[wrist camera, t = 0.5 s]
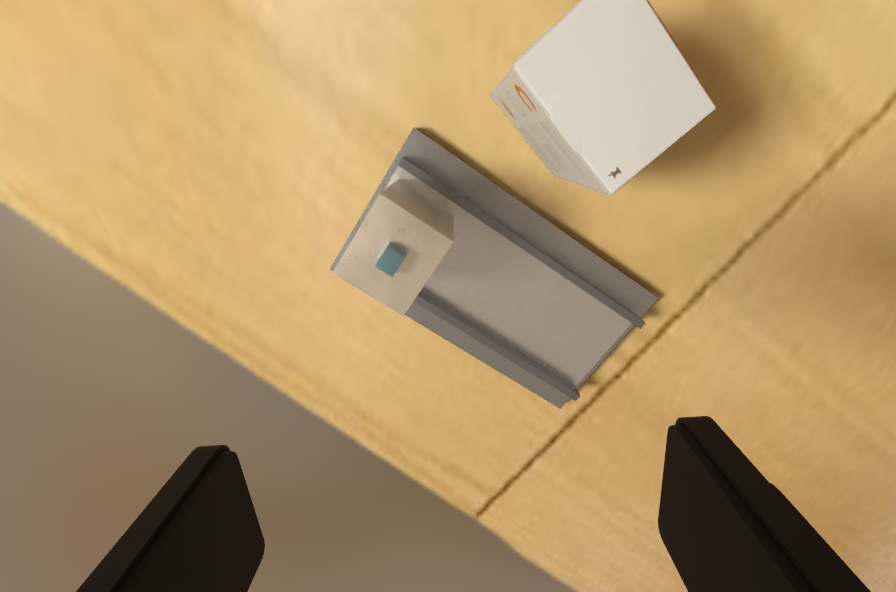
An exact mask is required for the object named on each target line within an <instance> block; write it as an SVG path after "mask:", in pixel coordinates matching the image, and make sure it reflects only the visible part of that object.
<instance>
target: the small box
mask: <svg viewBox="0 0 896 592" xmlns="http://www.w3.org/2000/svg"><path fill="white" fill-rule="evenodd" d="M491 97H492V99H493V100H494V101H495V103H496V104H497V105H498V107H499V108H500V109H501V110H502V112H503V113H504V114H505V115H506V117H507V118H508V119H509V121H510V122H511V123H512V124H513V126H514V127H515V128H516V129H517V131H518V132H519V133H520V134H521V136H522V137H523V138H524V139H525V141H526V142H527V143H528V144H529V146H530V147H531V148H532V149H533V151H534V152H535V153H536V154H537V156H538V157H539V158H540V159H541V161H542V162H543V163H544V164H545V166H546V167H547V168H548V169H549V170H550V172H551V173H552V174H553V175H554V176H555V177H559V178H561V179H565V180H568V181H571V182H573V183H576V184H579V185H581V186H584V187H587V188H590V189H593V190H596V191H598V192H601V193H604V194H607V195H610V196H611V195H613V194H614V193H615V192H616V191H617V190H618V189H620V188H621V187H622V186H623V185H624V184H625V183H627V182H628V181H629V180H630V179H631V178H632V177H634V176H635V175H636V174H637V173H638V172H640V171H641V170H642V169H643V168H644V167H645V166H647V165H648V164H649V163H650V162H651V161H653V160H654V159H655V158H656V157H658V156H659V155H660V154H661V153H662V152H664V151H665V150H666V149H667V148H668V147H670V146H671V145H672V144H673V143H675V142H676V141H677V140H678V139H679V138H680V137H682V136H683V135H684V134H685V133H687V132H688V131H689V130H690V129H691V128H693V127H694V126H695V125H696V124H698V123H699V122H700V121H701V120H702V119H704V118H705V117H706V116H707V115H708V114H710V113H711V112H712V111H713V110H715V109H716V105H715V103H714V102H713V100H712V99H711V97H710V95H709V94H708V92H707V91H706V89H705V88H704V86H703V85H702V83H701V82H700V80H699V79H698V77H697V75H696V74H695V72H694V71H693V69H692V68H691V66H690V65H689V63H688V61H687V60H686V58H685V57H684V55H683V54H682V52H681V51H680V49H679V48H678V46H677V45H676V43H675V41H674V40H673V38H672V37H671V35H670V34H669V32H668V31H667V29H666V27H665V26H664V24H663V23H662V21H661V19H660V18H659V16H658V15H657V13H656V12H655V11H654V9H653V7H652V6H651V4H650V3H649V1H648V0H580V1H579V2H578V3H577V4H576V5H575V6H573V7H572V8H571V9H570V10H569V11H568V12H567V13H566V14H565V15H564V16H563V17H562V18H561V19H560V20H559V21H558V22H556V23H555V24H554V25H553V26H552V27H551V28H550V29H549V30H548V31H547V32H546V33H545V34H544V35H543V36H542V37H541V38H539V39H538V40H537V41H536V42H535V43H534V44H533V45H532V46H531V47H530V48H529V49H528V50H527V51H526V52H525V53H523V54H522V55H521V56H520V57H519V58H518V59H517V60H516V61H515V62H514V63H513V65H512V67H511V68H510V70H509V71H508V72H507V74H506V75H505V76H504V77H503V79H502V80H501V81H500V83H499V84H498V85H497V86H496V88H495V89H494V90H493V92H492V94H491Z"/></svg>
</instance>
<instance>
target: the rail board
mask: <svg viewBox="0 0 896 592" xmlns="http://www.w3.org/2000/svg"><path fill="white" fill-rule="evenodd" d="M330 270H332V271H333V272H332V273H333V274H335V275H337V276H338V277H340V278H342V279H343V280H345V281H347V282H348V283H350V284H352V285H353V286H355V287H357V288H358V289H360V290H362V291H363V292H365V293H366V294H368V295H370V296H371V297H373V298H375V299H376V300H378V301H380V302H381V303H383V304H385V305H386V306H388V307H390V308H391V309H393V310H395V311H396V312H398V313H400V314H401V315H403V316H404V315H406V316H408V317H409V318H411V319H413V320H414V321H416V322H418V323H419V324H421V325H423V326H424V327H426V328H428V329H429V330H431V331H433V332H434V333H436V334H437V335H439V336H441V337H442V338H444V339H446V340H447V341H449V342H451V343H452V344H454V345H456V346H457V347H459V348H461V349H462V350H464V351H466V352H467V353H469V354H471V355H472V356H474V357H476V358H477V359H479V360H480V361H482V362H484V363H485V364H487V365H489V366H490V367H492V368H494V369H495V370H497V371H499V372H500V373H502V374H504V375H505V376H507V377H509V378H510V379H512V380H514V381H515V382H517V383H519V384H520V385H522V386H523V387H525V388H527V389H528V390H530V391H532V392H533V393H535V394H537V395H538V396H540V397H542V398H543V399H545V400H547V401H548V402H550V403H552V404H553V405H555V406H557V407H558V408H560V409H561V408H562V406H563V405H564V404H565V403H566V402H567V401H568V400H569V399H570V398H572V399H573V400H575V401H576V400H577V399H578V398H579V397H580V394H579V392H578V390H577V389H578V388H579V387H580V386H581V385H582V384H583V383H584V382H585V380H586V379H587V378H588V377H589V376H590V375H591V374H592V373H593V371H594V370H595V369H596V368H597V367H598V366H599V365H600V364H601V362H602V361H603V360H604V359H605V358H606V357H607V356H608V355H609V353H610V352H611V351H612V350H613V349H614V348H615V347H616V346H617V344H618V343H619V342H620V341H621V340H622V339H623V338H624V337H625V335H626V334H627V333H628V332H629V331H630V330H631V329H632V328H633V326H634V325H636V326H637V327H639V328H640V329H641V328H642V327H643V325H644V324H645V322H644V321H643V320H642V319H641V317H642V316H643V315H644V314H645V313H646V312H647V311H648V309H649V308H650V307H651V306H652V305H653V304H654V303H655V302H656V300H657V299H658V298H657V297H656V296H655V295H654V294H652V293H651V292H649V291H648V290H647V289H645V288H644V287H642V286H641V285H639V284H638V283H637V282H635V281H634V280H632V279H631V278H629V277H628V276H627V275H625V274H624V273H622V272H621V271H619V270H618V269H616V268H615V267H614V266H612V265H611V264H609V263H608V262H606V261H605V260H604V259H602V258H601V257H599V256H598V255H596V254H595V253H594V252H592V251H591V250H589V249H588V248H586V247H585V246H584V245H582V244H581V243H579V242H578V241H576V240H575V239H574V238H572V237H571V236H569V235H568V234H566V233H565V232H563V231H562V230H561V229H559V228H558V227H556V226H555V225H553V224H552V223H551V222H549V221H548V220H546V219H545V218H543V217H542V216H541V215H539V214H538V213H536V212H535V211H533V210H532V209H531V208H529V207H528V206H526V205H525V204H523V203H522V202H521V201H519V200H518V199H516V198H515V197H513V196H512V195H511V194H509V193H508V192H506V191H505V190H503V189H502V188H500V187H499V186H498V185H496V184H495V183H493V182H492V181H490V180H489V179H488V178H486V177H485V176H483V175H482V174H480V173H479V172H478V171H476V170H475V169H473V168H472V167H470V166H469V165H468V164H466V163H465V162H463V161H462V160H460V159H459V158H458V157H456V156H455V155H453V154H452V153H450V152H449V151H447V150H446V149H445V148H443V147H442V146H440V145H439V144H437V143H436V142H435V141H433V140H432V139H430V138H429V137H427V136H426V135H425V134H423V133H422V132H420V131H419V130H417V129H416V128H413V129H412V131H411V133H410V135H409V136H408V138H407V140H406V141H405V143H404V145H403V146H402V148H401V150H400V151H399V153H398V155H397V156H396V158H395V160H394V162H393V163H392V165H391V167H390V168H389V170H388V172H387V173H386V175H385V177H384V178H383V180H382V182H381V183H380V185H379V187H378V189H377V190H376V192H375V194H374V195H373V197H372V199H371V200H370V202H369V204H368V205H367V207H366V209H365V210H364V212H363V214H362V216H361V217H360V219H359V221H358V222H357V224H356V226H355V227H354V229H353V231H352V232H351V234H350V236H349V237H348V239H347V241H346V243H345V244H344V246H343V248H342V249H341V251H340V253H339V254H338V256H337V258H336V259H335V261H334V263H333V264H332V266H331V268H330Z"/></svg>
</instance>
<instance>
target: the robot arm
mask: <svg viewBox="0 0 896 592" xmlns="http://www.w3.org/2000/svg"><path fill="white" fill-rule="evenodd" d="M658 526H659V531H660V535H661V538H662V540H663V542H664V544H665V546H666V548H667V550H668V552H669V554H670V556H671V558H672V560H673V562H674V564H675V566H676V568H677V570H678V572H679V574H680V576H681V578H682V580H683V582H684V584H685V586H686V588H687V590H688V592H871V591H870V590H869V589H868V588H867V587H866V586H865V585H864V584H863V583H862V581H861V580H860V579H859V578H858V577H857V576H856V575H855V574H854V573H853V571H852V570H851V569H850V568H849V567H848V566H847V565H846V564H845V563H844V561H843V560H842V559H841V558H840V557H839V556H838V555H837V554H836V553H835V551H834V550H833V549H832V548H831V547H830V546H829V545H828V544H827V543H826V541H825V540H824V539H823V538H822V537H821V536H820V535H819V534H818V533H817V531H816V530H815V529H814V528H813V527H812V526H811V525H810V524H809V523H808V521H807V520H806V519H805V518H804V517H803V516H802V515H801V514H800V513H799V511H798V510H797V509H796V508H795V507H794V506H793V505H792V504H791V503H790V501H789V500H788V499H787V498H786V497H785V496H784V495H783V494H782V493H781V491H779V490H778V489H777V488H776V487H775V486H774V485H773V484H771V483H769V482H768V481H767V480H766V479H765V477H764V476H763V475H762V474H761V473H760V472H759V471H758V470H757V468H756V467H755V466H754V465H753V464H752V463H751V462H750V461H749V459H748V458H747V457H746V456H745V455H744V454H743V453H742V452H741V450H740V449H739V448H738V447H737V446H736V445H735V444H734V443H733V442H732V440H731V439H730V438H729V437H728V436H727V435H726V434H725V433H724V431H723V430H722V429H721V428H720V427H719V426H718V425H717V424H716V422H715V421H714V420H713V419H712V418H710V417H708V416H701V417H684V418H678V419H677V421H676V424H675V425H672V426H670V427H669V428H668V434H667V443H666V452H665V462H664V471H663V480H662V490H661V499H660V508H659V517H658ZM264 547H265V543H264V538H263V535H262V532H261V528H260V526H259V522H258V519H257V516H256V513H255V510H254V506H253V504H252V500H251V497H250V494H249V491H248V488H247V484H246V481H245V478H244V475H243V472H242V469H241V465H240V462H239V459H238V456H237V454H236V453H235V452H232V451H230V449H229V448H228V447H227V446H225V445H217V446H200V447H197V448H196V449H194V450H193V451H192V452H191V454H190V455H189V456H188V457H187V458H186V460H185V461H184V462H183V463H182V464H181V466H180V467H179V468H178V469H177V470H176V472H175V473H174V474H173V475H172V477H171V478H170V479H169V480H168V481H167V483H166V484H165V485H164V486H163V487H162V489H161V490H160V491H159V492H158V493H157V495H156V496H155V497H154V498H153V499H152V501H151V502H150V503H149V504H148V506H147V507H146V508H145V509H144V510H143V512H142V513H141V514H140V515H139V516H138V518H137V519H136V520H135V521H134V522H133V524H132V525H131V526H130V527H129V529H128V530H127V531H126V532H125V534H124V535H123V536H122V537H121V538H120V539H119V541H118V542H117V543H116V544H115V545H114V547H113V548H112V549H111V550H110V551H109V553H108V554H107V555H106V556H105V558H104V559H103V560H102V561H101V562H100V564H99V565H98V566H97V567H96V568H95V570H94V571H93V572H92V573H91V574H90V576H89V577H88V578H87V579H86V580H85V582H84V583H83V584H82V585H81V586H80V588H79V589H78V590H77V591H76V592H247V591H248V589H249V587H250V584H251V582H252V580H253V578H254V576H255V573H256V571H257V569H258V567H259V565H260V562H261V560H262V557H263V554H264Z"/></svg>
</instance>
